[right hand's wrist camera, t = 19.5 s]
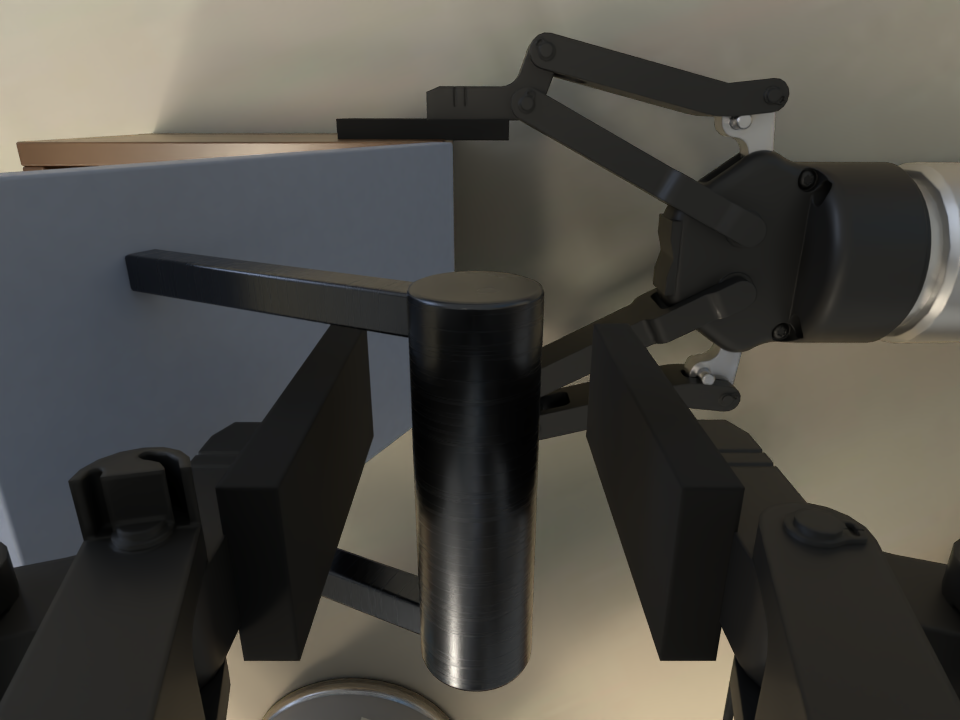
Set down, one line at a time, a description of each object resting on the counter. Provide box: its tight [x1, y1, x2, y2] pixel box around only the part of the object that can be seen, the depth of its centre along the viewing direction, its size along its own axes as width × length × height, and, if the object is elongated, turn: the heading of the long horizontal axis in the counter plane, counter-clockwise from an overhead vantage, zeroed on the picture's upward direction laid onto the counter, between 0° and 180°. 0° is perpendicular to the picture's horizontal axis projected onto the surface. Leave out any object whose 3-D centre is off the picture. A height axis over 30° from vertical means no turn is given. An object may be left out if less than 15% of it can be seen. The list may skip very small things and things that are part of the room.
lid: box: [0, 142, 544, 691], centre depth 15 cm, size 16×9×9 cm
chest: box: [16, 133, 455, 272], centre depth 29 cm, size 15×9×10 cm, turn 90°
